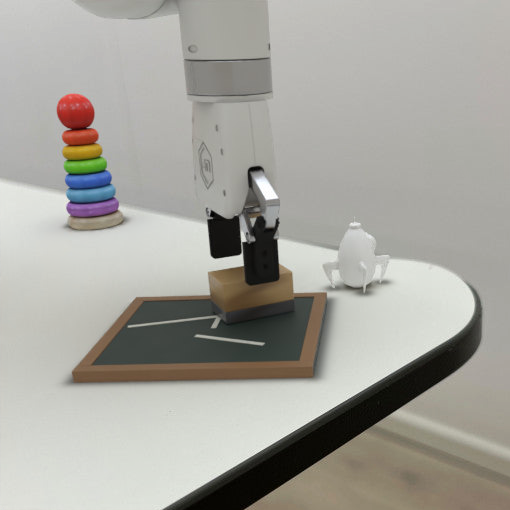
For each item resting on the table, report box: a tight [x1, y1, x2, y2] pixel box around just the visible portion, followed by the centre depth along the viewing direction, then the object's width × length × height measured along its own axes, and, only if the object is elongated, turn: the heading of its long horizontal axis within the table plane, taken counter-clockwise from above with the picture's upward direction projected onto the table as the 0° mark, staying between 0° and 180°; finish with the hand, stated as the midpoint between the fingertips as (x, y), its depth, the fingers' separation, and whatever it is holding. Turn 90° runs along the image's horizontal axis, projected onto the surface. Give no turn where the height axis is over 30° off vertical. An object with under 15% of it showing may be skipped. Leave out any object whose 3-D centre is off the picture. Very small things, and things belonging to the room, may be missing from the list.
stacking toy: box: [56, 93, 124, 231], centre depth 111 cm, size 8×8×19 cm
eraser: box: [207, 263, 295, 324], centre depth 74 cm, size 7×4×4 cm, turn 118°
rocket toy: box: [322, 216, 391, 294], centre depth 82 cm, size 5×5×8 cm
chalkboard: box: [71, 291, 328, 383], centre depth 72 cm, size 20×18×1 cm
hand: (243, 268), depth 74 cm, fingers open, 9 cm apart
